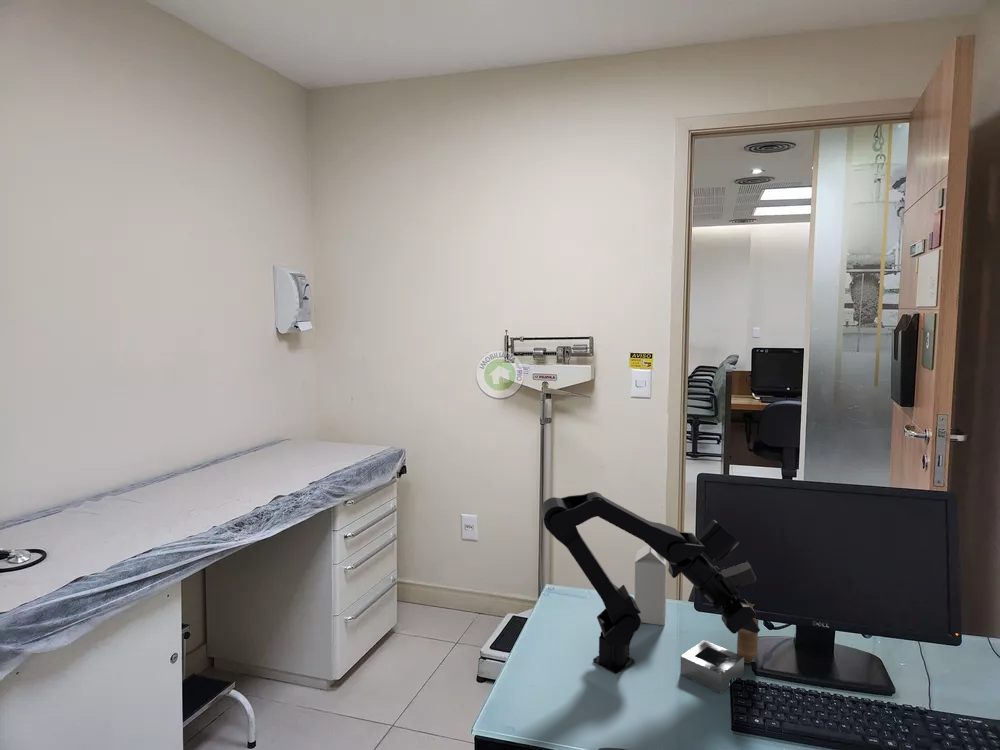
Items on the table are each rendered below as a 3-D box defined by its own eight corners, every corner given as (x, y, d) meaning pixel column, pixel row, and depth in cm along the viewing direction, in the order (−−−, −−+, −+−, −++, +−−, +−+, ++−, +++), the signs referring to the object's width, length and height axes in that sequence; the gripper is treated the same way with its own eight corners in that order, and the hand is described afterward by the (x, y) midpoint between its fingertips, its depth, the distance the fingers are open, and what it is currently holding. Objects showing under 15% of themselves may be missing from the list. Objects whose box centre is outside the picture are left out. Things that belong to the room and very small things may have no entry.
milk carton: (634, 622, 151) (634, 545, 149) (636, 608, 158) (637, 535, 156) (664, 626, 149) (666, 549, 147) (665, 612, 156) (667, 538, 154)
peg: (751, 665, 131) (753, 606, 130) (733, 657, 134) (735, 599, 133) (760, 658, 134) (762, 599, 133) (742, 650, 137) (744, 593, 136)
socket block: (721, 693, 123) (721, 674, 123) (680, 674, 130) (680, 655, 129) (743, 675, 129) (743, 656, 129) (703, 657, 136) (703, 639, 135)
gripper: (746, 568, 122) (802, 623, 123) (718, 533, 141) (767, 581, 142) (704, 606, 124) (759, 660, 124) (682, 566, 142) (730, 614, 143)
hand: (754, 626), depth 133 cm, fingers closed on peg, 4 cm apart
